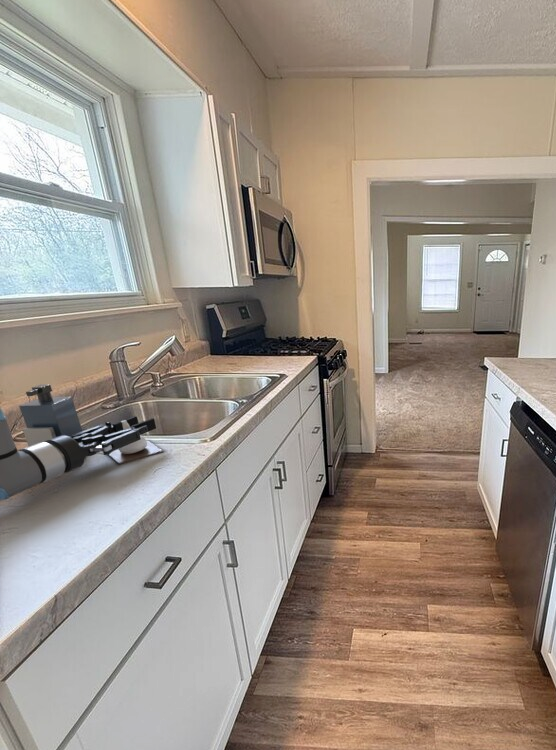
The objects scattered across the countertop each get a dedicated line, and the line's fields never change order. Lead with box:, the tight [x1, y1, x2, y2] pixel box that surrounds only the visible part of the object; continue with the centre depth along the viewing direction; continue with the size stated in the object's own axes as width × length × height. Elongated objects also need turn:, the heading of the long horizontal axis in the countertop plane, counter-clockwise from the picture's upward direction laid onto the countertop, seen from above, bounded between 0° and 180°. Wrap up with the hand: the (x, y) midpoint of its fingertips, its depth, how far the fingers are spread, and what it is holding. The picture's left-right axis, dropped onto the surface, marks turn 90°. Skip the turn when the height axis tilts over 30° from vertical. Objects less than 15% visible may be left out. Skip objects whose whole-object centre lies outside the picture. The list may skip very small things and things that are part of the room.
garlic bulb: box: [119, 419, 147, 454], centre depth 100 cm, size 6×6×8 cm
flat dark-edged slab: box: [107, 439, 164, 465], centre depth 102 cm, size 11×10×1 cm
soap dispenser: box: [18, 384, 83, 437], centre depth 95 cm, size 8×7×19 cm
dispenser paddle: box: [21, 427, 56, 447], centre depth 92 cm, size 1×6×6 cm, turn 93°
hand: (145, 422), depth 104 cm, fingers open, 5 cm apart
